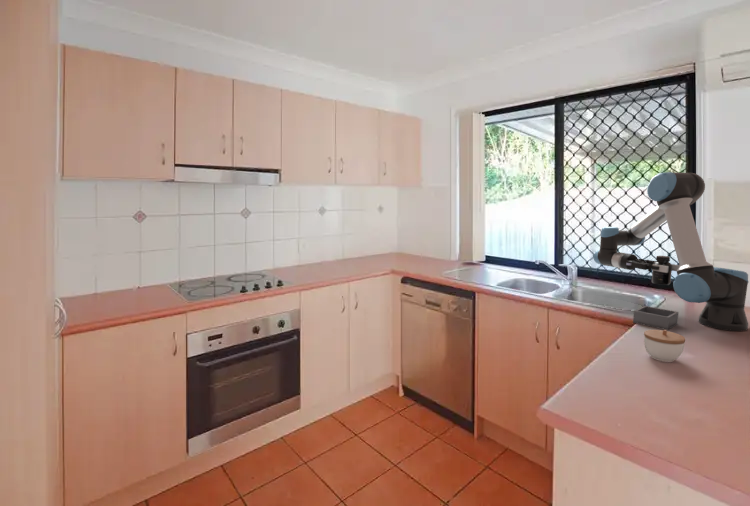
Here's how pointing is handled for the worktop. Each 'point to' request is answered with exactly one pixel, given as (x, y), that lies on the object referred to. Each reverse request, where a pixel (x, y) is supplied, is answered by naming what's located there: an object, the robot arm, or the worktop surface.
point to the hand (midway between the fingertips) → (673, 269)
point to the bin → (655, 317)
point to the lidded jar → (663, 344)
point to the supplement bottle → (662, 277)
